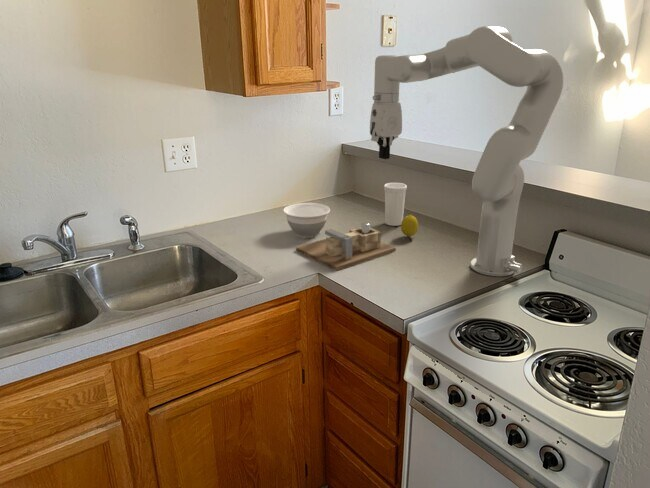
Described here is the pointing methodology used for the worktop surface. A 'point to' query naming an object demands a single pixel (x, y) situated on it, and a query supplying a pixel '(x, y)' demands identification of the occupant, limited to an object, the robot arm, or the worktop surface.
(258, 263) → the worktop surface
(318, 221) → the bowl
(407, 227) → the lemon
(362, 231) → the ball
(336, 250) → the link
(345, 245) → the bracket
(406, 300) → the worktop surface
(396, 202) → the cup
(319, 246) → the board
